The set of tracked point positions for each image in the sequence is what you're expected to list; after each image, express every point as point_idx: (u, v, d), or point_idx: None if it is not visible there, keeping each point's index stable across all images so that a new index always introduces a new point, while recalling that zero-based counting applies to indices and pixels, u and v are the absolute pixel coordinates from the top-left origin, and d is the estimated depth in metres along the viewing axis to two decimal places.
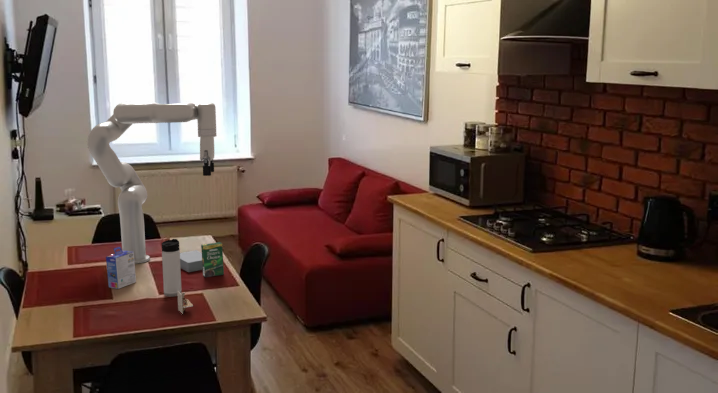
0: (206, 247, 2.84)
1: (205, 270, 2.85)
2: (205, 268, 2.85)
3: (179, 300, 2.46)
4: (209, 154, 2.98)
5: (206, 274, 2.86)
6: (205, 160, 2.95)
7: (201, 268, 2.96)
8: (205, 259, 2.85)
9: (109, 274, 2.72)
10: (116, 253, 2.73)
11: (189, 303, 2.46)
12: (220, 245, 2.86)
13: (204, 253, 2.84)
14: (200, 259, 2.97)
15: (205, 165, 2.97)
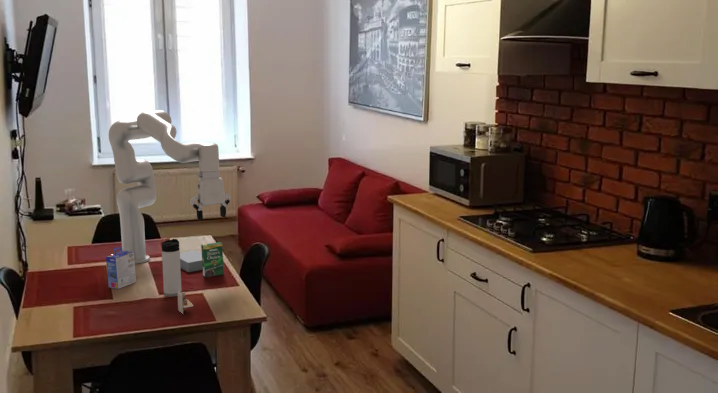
0: (206, 247, 2.84)
1: (205, 270, 2.85)
2: (205, 268, 2.85)
3: (179, 300, 2.46)
4: None
5: (206, 274, 2.86)
6: None
7: (201, 268, 2.96)
8: (205, 259, 2.85)
9: (109, 274, 2.72)
10: (116, 253, 2.73)
11: (189, 303, 2.46)
12: (220, 245, 2.86)
13: (204, 253, 2.84)
14: (200, 259, 2.97)
15: None
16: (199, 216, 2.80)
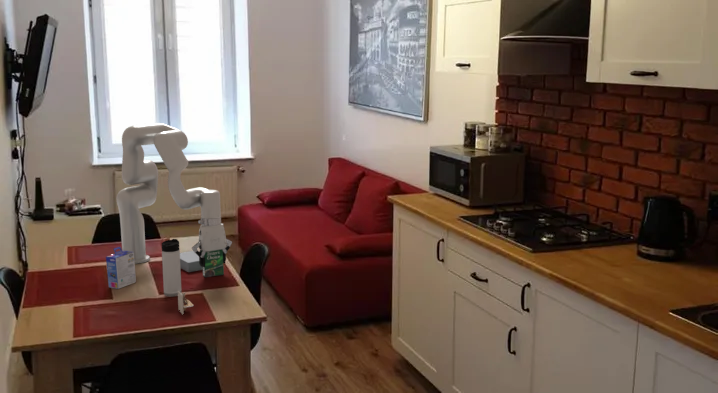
0: None
1: (205, 270, 2.85)
2: (205, 268, 2.85)
3: (179, 300, 2.46)
4: None
5: (206, 274, 2.86)
6: None
7: (201, 268, 2.96)
8: (205, 259, 2.85)
9: (109, 274, 2.72)
10: (116, 253, 2.73)
11: (189, 303, 2.46)
12: None
13: None
14: None
15: None
16: (201, 263, 2.84)
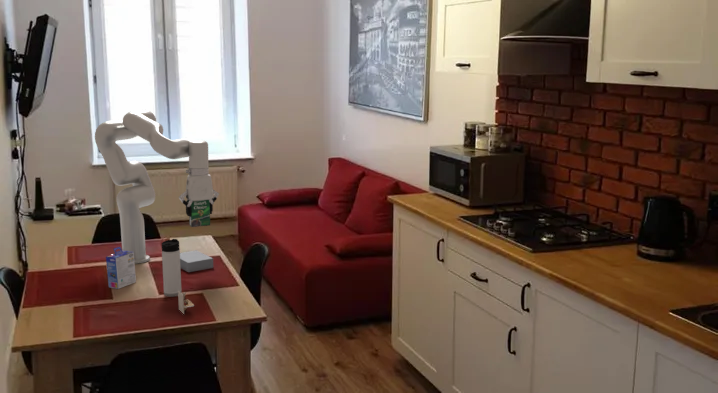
0: None
1: (191, 220, 2.89)
2: (192, 218, 2.89)
3: (180, 300, 2.46)
4: None
5: (192, 224, 2.89)
6: None
7: (201, 268, 2.96)
8: (192, 209, 2.88)
9: (109, 274, 2.72)
10: (116, 253, 2.73)
11: (190, 303, 2.46)
12: None
13: None
14: (200, 259, 2.97)
15: None
16: (188, 212, 2.87)
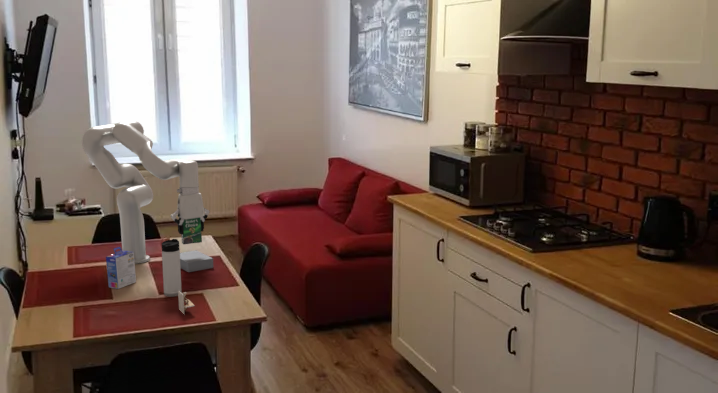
0: None
1: (184, 237, 2.97)
2: (184, 235, 2.97)
3: (180, 300, 2.46)
4: None
5: (185, 241, 2.98)
6: None
7: (201, 268, 2.96)
8: (183, 227, 2.97)
9: (109, 274, 2.72)
10: (116, 253, 2.73)
11: (190, 303, 2.46)
12: None
13: None
14: (200, 259, 2.97)
15: None
16: (180, 230, 2.96)
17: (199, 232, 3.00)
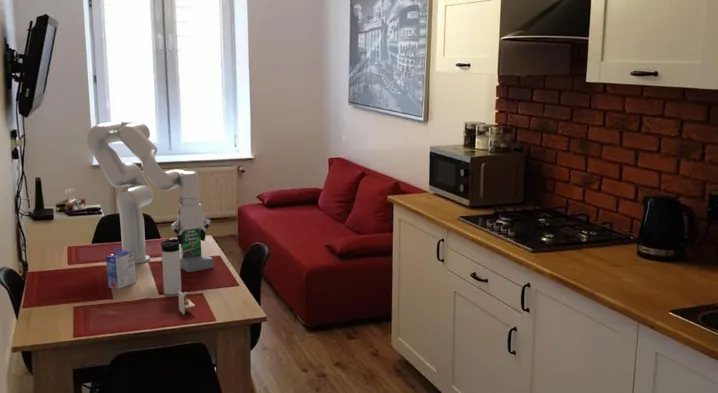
0: None
1: (183, 251, 2.98)
2: (183, 249, 2.98)
3: (180, 300, 2.46)
4: None
5: (184, 255, 2.99)
6: None
7: (201, 268, 2.96)
8: (183, 240, 2.97)
9: (109, 274, 2.72)
10: (116, 253, 2.73)
11: (190, 303, 2.46)
12: None
13: (182, 234, 2.97)
14: (200, 259, 2.97)
15: None
16: (179, 240, 2.96)
17: (199, 245, 3.01)
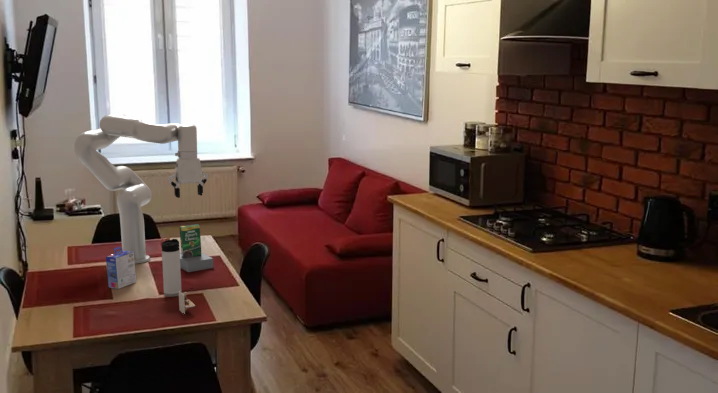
0: (184, 229, 2.97)
1: (183, 251, 2.98)
2: (183, 249, 2.98)
3: (181, 300, 2.46)
4: None
5: (184, 255, 2.99)
6: None
7: (201, 268, 2.96)
8: (183, 240, 2.97)
9: (109, 274, 2.72)
10: (116, 253, 2.73)
11: (191, 303, 2.46)
12: (198, 227, 2.99)
13: (182, 234, 2.97)
14: (200, 259, 2.97)
15: None
16: (176, 193, 2.96)
17: (199, 245, 3.01)
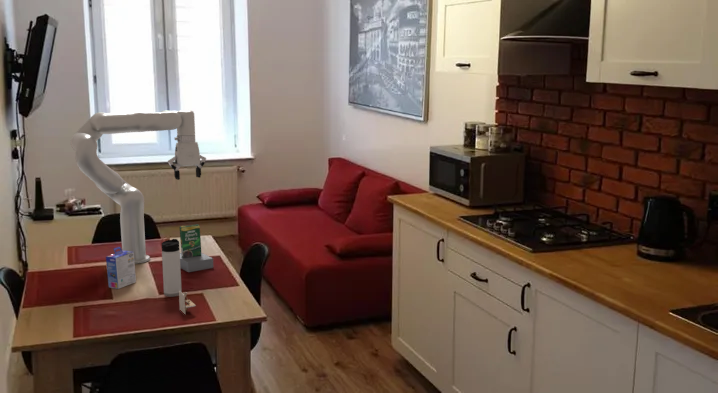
0: (184, 229, 2.97)
1: (183, 251, 2.98)
2: (183, 249, 2.98)
3: (181, 300, 2.46)
4: None
5: (184, 255, 2.99)
6: None
7: (201, 268, 2.96)
8: (183, 240, 2.97)
9: (109, 274, 2.72)
10: (116, 253, 2.73)
11: (191, 303, 2.46)
12: (198, 227, 2.99)
13: (182, 234, 2.97)
14: (200, 259, 2.97)
15: None
16: (176, 175, 3.12)
17: (199, 245, 3.01)
